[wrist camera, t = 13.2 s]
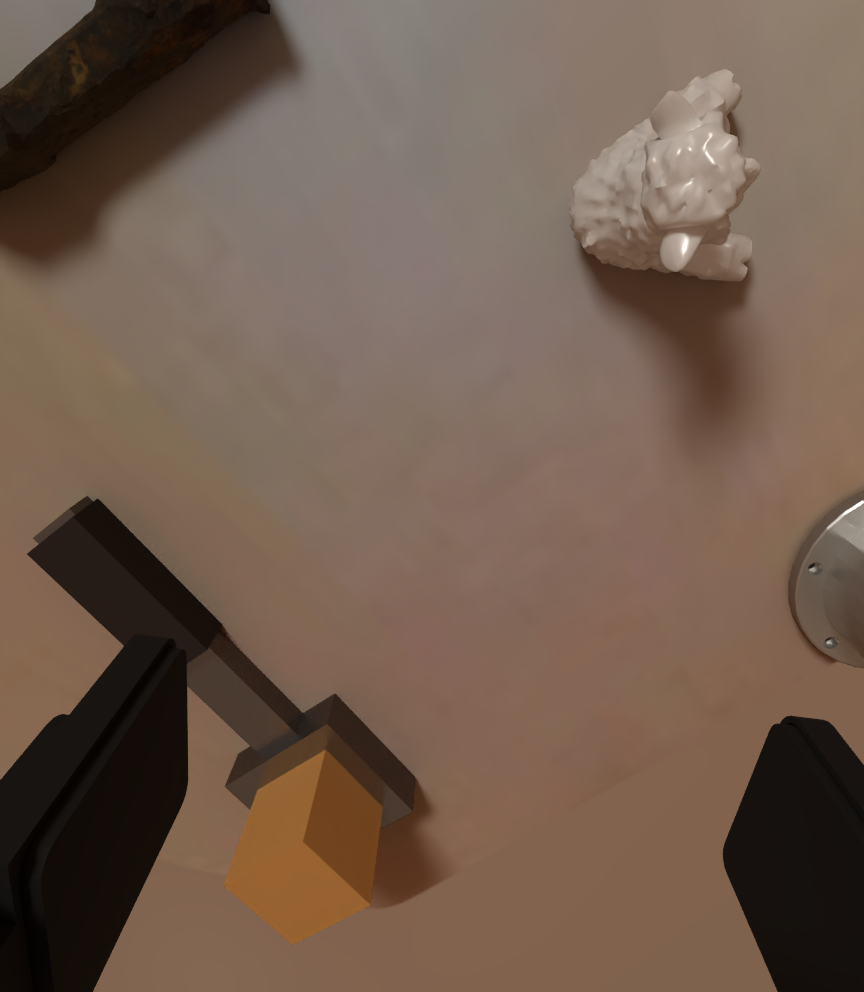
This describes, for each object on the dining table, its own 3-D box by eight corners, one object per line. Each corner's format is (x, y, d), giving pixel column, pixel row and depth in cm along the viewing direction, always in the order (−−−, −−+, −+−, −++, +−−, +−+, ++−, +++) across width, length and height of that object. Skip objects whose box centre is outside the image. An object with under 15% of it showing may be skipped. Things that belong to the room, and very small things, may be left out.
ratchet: (415, 777, 47) (410, 849, 42) (320, 831, 49) (303, 906, 44) (119, 469, 39) (64, 507, 34) (21, 549, 41) (-46, 598, 36)
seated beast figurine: (744, 276, 34) (884, 295, 23) (579, 318, 35) (637, 356, 24) (726, 71, 31) (880, -22, 20) (545, 124, 32) (595, 64, 21)
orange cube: (325, 749, 43) (302, 841, 36) (382, 807, 44) (370, 905, 38) (257, 790, 44) (223, 885, 38) (315, 844, 46) (292, 945, 39)
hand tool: (233, -78, 30) (195, -133, 25) (281, 15, 31) (252, -22, 27) (-72, 148, 34) (-151, 135, 29) (-19, 223, 35) (-87, 221, 30)
